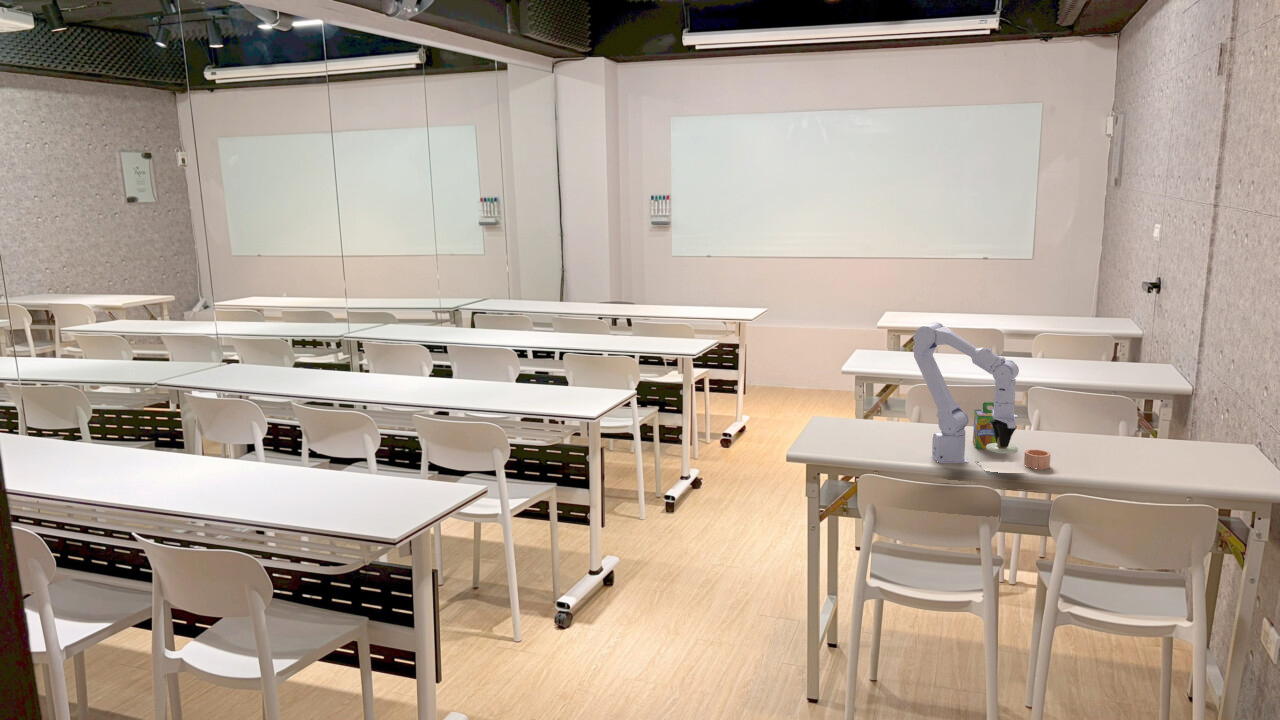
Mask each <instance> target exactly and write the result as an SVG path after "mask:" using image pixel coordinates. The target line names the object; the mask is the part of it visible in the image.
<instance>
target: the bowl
mask: <svg viewBox="0 0 1280 720" xmlns="http://www.w3.org/2000/svg"><path fill="white" fill-rule="evenodd" d="M1051 458H1052V457H1051V452H1049V451H1047V450H1045V449H1044V450H1042V449H1027V450H1025V451H1024V460H1023V465H1026V466H1027V467H1026V466H1025V467H1026V468H1028V467H1031V468H1037V469H1045V470H1047V469H1046V468H1049V467H1051ZM1031 468H1030V469H1031ZM1037 469H1036V470H1037ZM1049 469H1050V468H1049Z"/></svg>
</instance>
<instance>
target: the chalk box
mask: <svg viewBox="0 0 1280 720" xmlns="http://www.w3.org/2000/svg"><path fill="white" fill-rule="evenodd" d="M989 406H990V407H993V409H988V407H989ZM992 410H994V401H993V402H992V401H991V402H990V401H988V402H987V401H984V402H983V403H982V409H974V412H973V430H972V431H973V432H972V433H973V435H972V444H973V445H974V448H975V450H976V449H977V450H987V449H986V445H988V444H991V443H996V439H995V434H994V429H993V427H992V424H991V422H990V420H995V419H994V418H993V416H992Z"/></svg>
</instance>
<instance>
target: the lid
mask: <svg viewBox="0 0 1280 720" xmlns="http://www.w3.org/2000/svg"><path fill="white" fill-rule="evenodd" d="M985 450H987V451H989V452H990V453H991V452H992V453H996V454H1005V455H1006V454H1009V455H1010V454H1016V453H1018V452H1019V447H1018V446H1016V445H1014V444H1010V443H1009V445H1008V447H1001V446H1000V442H999V437H998V438H997V443H991V444H988V445H986V449H985Z"/></svg>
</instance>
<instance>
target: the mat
mask: <svg viewBox="0 0 1280 720" xmlns="http://www.w3.org/2000/svg"><path fill="white" fill-rule="evenodd" d="M976 462H977V463H979V461H976ZM977 463H976V464H977ZM983 471H984V472H985V473H986V474H987V475H1007V474H1006V473H1005V474H1004V473H998V472H990V471H985V470H983Z"/></svg>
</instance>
